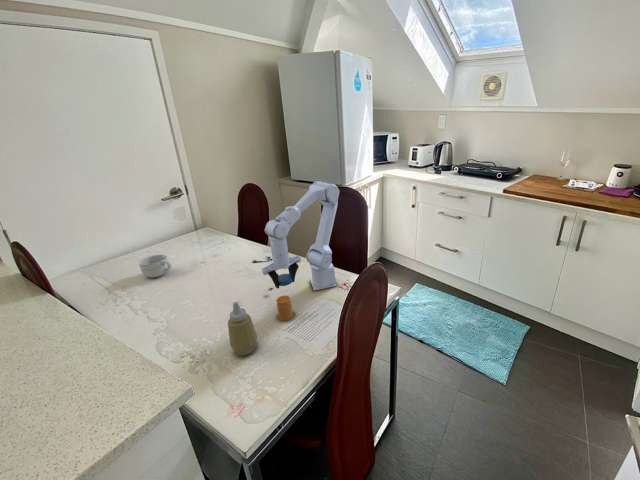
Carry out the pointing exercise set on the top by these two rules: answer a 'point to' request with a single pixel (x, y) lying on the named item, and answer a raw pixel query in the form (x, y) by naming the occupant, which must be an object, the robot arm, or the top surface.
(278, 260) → the robot arm
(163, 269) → the teacup
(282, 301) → the jar
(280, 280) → the lid
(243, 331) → the squeeze bottle
